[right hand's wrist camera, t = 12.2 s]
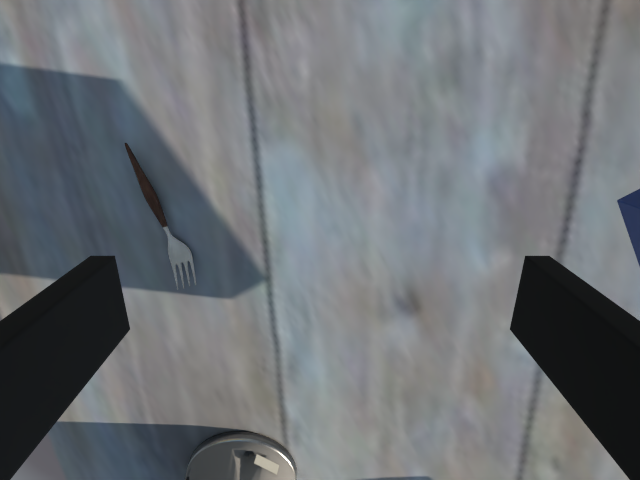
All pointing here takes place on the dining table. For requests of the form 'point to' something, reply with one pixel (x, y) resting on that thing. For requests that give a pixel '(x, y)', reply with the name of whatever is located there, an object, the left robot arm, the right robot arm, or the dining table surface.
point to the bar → (632, 218)
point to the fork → (164, 224)
